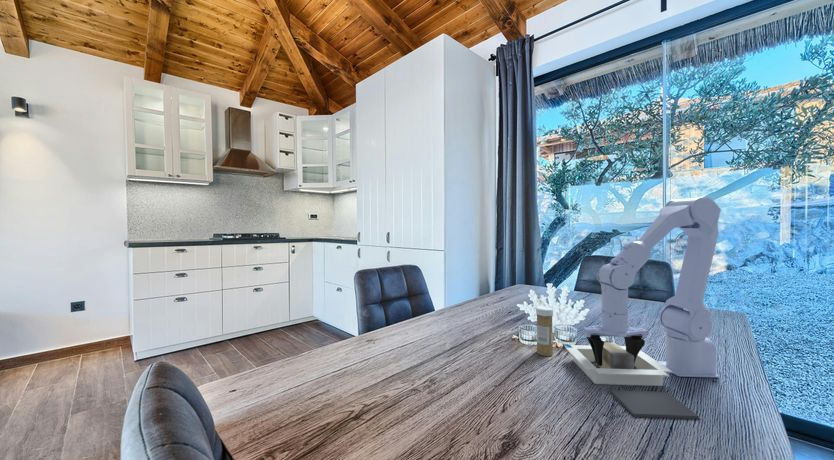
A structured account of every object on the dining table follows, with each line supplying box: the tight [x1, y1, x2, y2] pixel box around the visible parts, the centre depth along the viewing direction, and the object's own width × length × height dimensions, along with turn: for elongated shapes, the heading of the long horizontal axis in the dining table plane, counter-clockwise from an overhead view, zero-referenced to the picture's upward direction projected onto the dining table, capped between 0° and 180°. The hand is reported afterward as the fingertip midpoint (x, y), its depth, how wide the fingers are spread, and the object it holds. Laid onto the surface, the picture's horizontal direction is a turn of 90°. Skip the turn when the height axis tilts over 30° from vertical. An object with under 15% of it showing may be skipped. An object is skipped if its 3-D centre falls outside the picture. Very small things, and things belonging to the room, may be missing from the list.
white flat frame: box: [565, 344, 673, 387], centre depth 83 cm, size 19×17×4 cm
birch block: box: [597, 341, 635, 369], centre depth 83 cm, size 5×9×6 cm, turn 175°
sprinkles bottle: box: [535, 305, 554, 357], centre depth 95 cm, size 5×5×13 cm
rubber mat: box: [610, 389, 700, 420], centre depth 68 cm, size 12×9×1 cm
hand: (614, 364), depth 83 cm, fingers open, 7 cm apart
